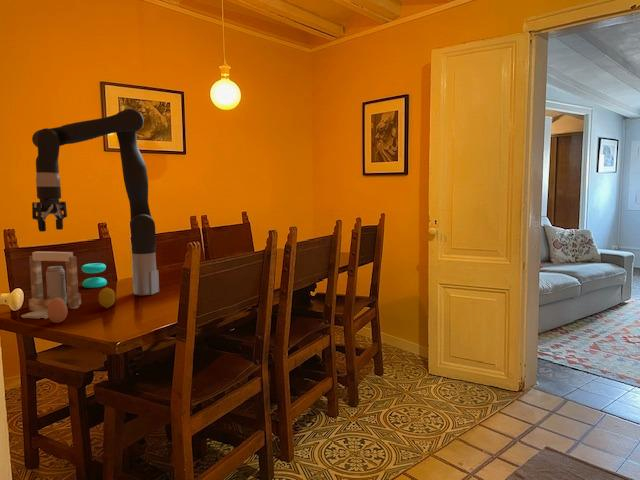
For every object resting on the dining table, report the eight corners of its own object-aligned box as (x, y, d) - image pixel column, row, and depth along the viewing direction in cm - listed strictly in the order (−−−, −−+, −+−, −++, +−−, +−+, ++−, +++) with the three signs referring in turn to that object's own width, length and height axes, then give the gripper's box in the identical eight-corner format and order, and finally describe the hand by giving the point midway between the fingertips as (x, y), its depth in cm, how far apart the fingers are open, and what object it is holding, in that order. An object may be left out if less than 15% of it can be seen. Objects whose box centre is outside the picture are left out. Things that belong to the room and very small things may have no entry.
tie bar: (73, 260, 165) (72, 252, 165) (68, 261, 163) (68, 253, 162) (37, 259, 167) (37, 251, 167) (32, 260, 165) (32, 252, 164)
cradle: (87, 304, 171) (84, 254, 169) (66, 312, 160) (62, 259, 158) (46, 302, 174) (43, 253, 172) (23, 310, 162) (19, 258, 160)
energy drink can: (50, 305, 169) (47, 266, 167) (68, 304, 171) (65, 265, 169) (46, 309, 163) (43, 268, 162) (65, 308, 165) (62, 267, 164)
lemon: (119, 307, 167) (118, 286, 166) (107, 310, 162) (106, 289, 161) (107, 305, 169) (106, 284, 168) (95, 309, 163) (94, 287, 163)
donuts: (76, 266, 198) (89, 262, 208) (77, 288, 199) (91, 283, 209) (97, 266, 197) (110, 262, 207) (98, 288, 198) (111, 284, 208)
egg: (61, 319, 151) (60, 294, 150) (71, 321, 148) (70, 297, 147) (44, 323, 146) (42, 298, 145) (54, 326, 143) (52, 300, 142)
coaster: (64, 311, 160) (63, 309, 160) (45, 318, 152) (45, 316, 151) (41, 310, 162) (41, 308, 162) (21, 317, 153) (21, 315, 153)
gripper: (43, 185, 155) (46, 232, 156) (71, 185, 169) (74, 229, 170) (23, 185, 156) (26, 232, 157) (53, 185, 170) (56, 228, 171)
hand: (51, 230), depth 164 cm, fingers open, 8 cm apart
